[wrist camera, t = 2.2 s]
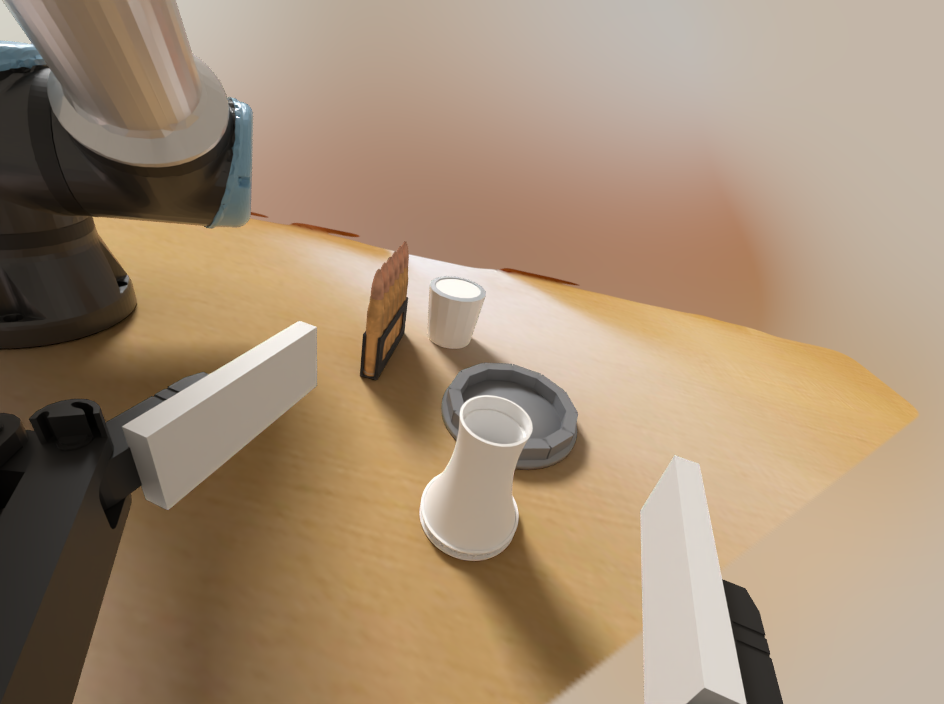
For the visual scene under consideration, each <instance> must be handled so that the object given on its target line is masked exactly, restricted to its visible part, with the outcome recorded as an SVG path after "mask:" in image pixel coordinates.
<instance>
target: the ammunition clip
mask: <svg viewBox="0 0 944 704" xmlns="http://www.w3.org/2000/svg"><path fill="white" fill-rule="evenodd" d="M408 260H409V254H408V246H407V243H406V242H405V241H404V243H403V244H402V246H400V247H399V248H398V250H397V252H396V251H395V252H394V253H393V255H392V257H389V259H388V260H387V263H384V264H383V265H382V267H381V270H380V269H378V270H377V272H376V274H375V276H374V279H373V283H372V288H371V296H370V303H369V307H368V311H367V324H366V331H365V333H364V334H363V343H362V356H361V369H360V376H362V377H366V378H371V379H375V380H377V379H378V378H379V376H380V374H381V372H382V371H383V369H384V367H385V365H386V364H387V362H388V360H389V359H390V357H391V355H392V353H393V352H394V350H395V348H396V346H397V345H398V343H399V341H400V339H401V338H402V336H403V334H404V330H405V321H406V312H407V303H408V297H406V295H407V286H408Z"/></svg>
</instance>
